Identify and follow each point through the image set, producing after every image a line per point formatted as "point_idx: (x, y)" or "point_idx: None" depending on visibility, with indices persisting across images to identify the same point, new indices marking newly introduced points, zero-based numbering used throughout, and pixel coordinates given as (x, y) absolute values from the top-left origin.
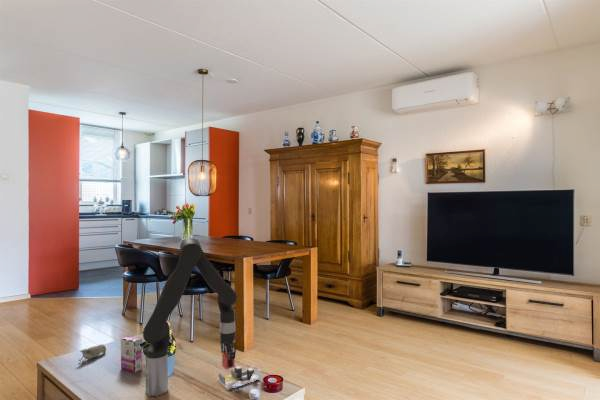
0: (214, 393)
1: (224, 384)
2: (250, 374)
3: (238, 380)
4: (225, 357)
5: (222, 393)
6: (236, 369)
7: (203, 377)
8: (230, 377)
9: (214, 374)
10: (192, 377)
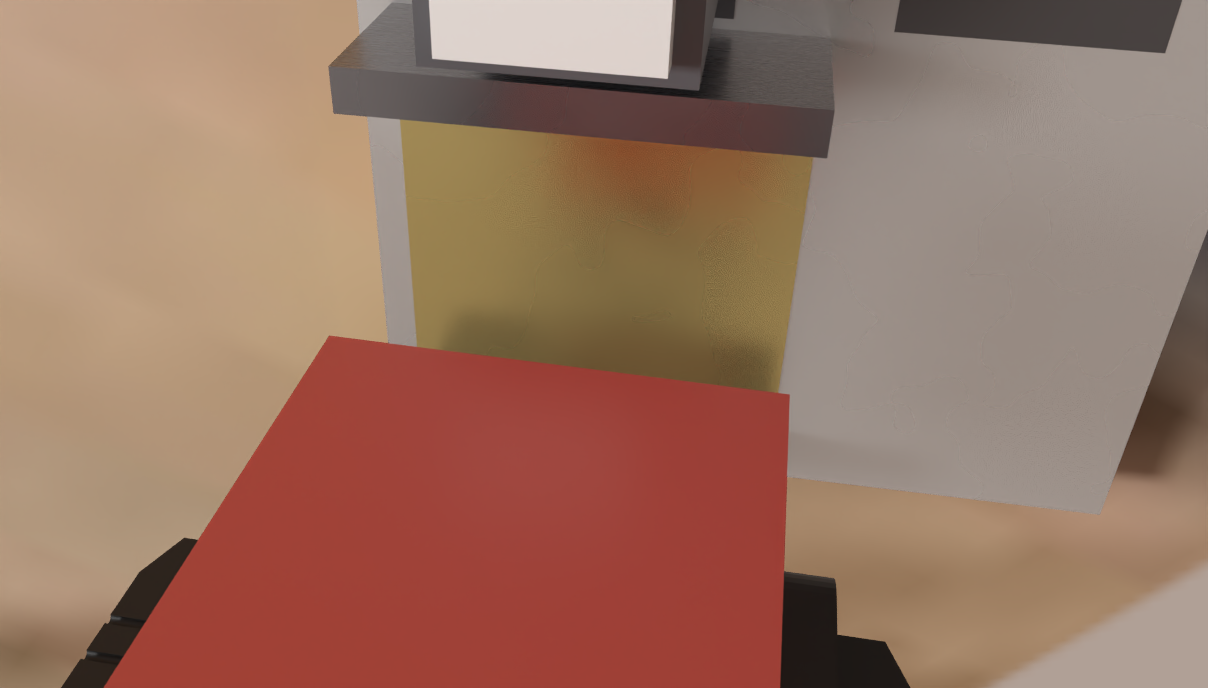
0: (932, 681)
1: (842, 474)
2: None
3: (955, 67)
4: None
5: (1081, 593)
6: (624, 81)
7: (92, 515)
8: (570, 162)
9: (33, 287)
10: (5, 637)
